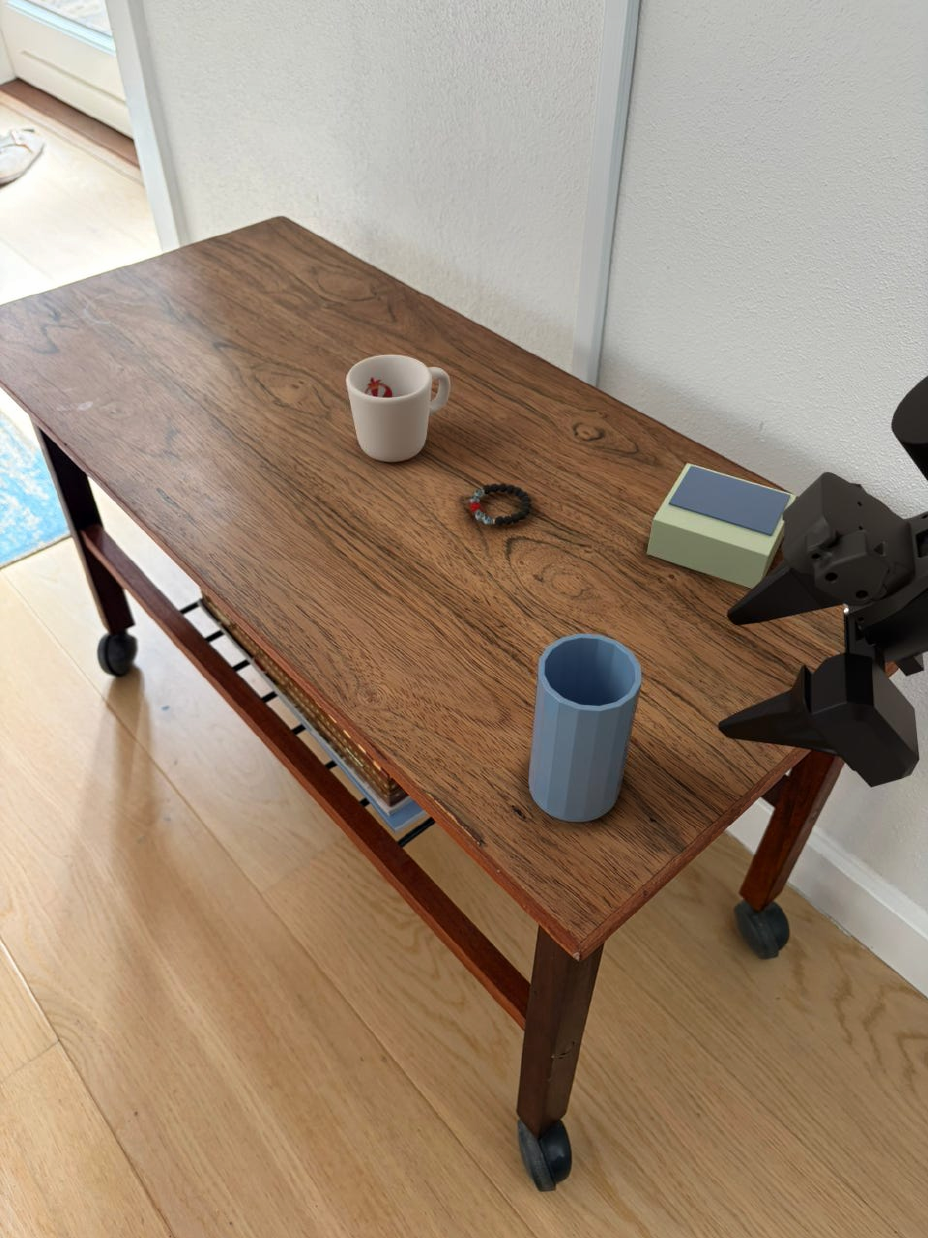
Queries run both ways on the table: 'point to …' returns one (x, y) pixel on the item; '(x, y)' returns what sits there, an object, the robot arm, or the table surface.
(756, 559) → the box
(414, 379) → the cup
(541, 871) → the table surface
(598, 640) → the blue hollow cylinder
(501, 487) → the bracelet
